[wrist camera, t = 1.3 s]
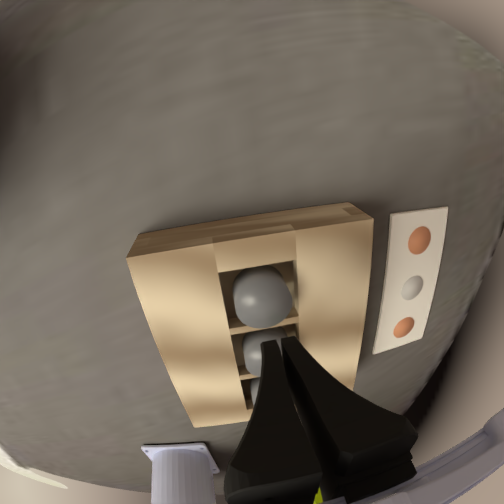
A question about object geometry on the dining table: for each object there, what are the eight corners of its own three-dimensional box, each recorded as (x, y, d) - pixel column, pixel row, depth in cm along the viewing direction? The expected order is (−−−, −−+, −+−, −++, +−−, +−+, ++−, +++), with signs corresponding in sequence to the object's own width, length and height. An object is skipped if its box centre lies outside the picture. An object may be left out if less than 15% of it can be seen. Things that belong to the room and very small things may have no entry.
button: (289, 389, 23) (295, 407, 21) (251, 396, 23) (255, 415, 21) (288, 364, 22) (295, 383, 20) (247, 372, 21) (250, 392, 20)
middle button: (288, 352, 21) (295, 372, 19) (244, 361, 21) (248, 381, 19) (286, 319, 20) (293, 338, 18) (238, 328, 19) (242, 348, 18)
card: (420, 336, 27) (422, 338, 26) (372, 352, 26) (373, 355, 26) (446, 206, 21) (448, 207, 20) (390, 213, 20) (392, 215, 20)
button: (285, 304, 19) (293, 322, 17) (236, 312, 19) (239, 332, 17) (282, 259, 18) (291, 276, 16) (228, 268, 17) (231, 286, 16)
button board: (338, 370, 27) (351, 396, 23) (193, 397, 25) (194, 427, 22) (348, 202, 19) (373, 218, 16) (138, 234, 18) (125, 257, 15)
